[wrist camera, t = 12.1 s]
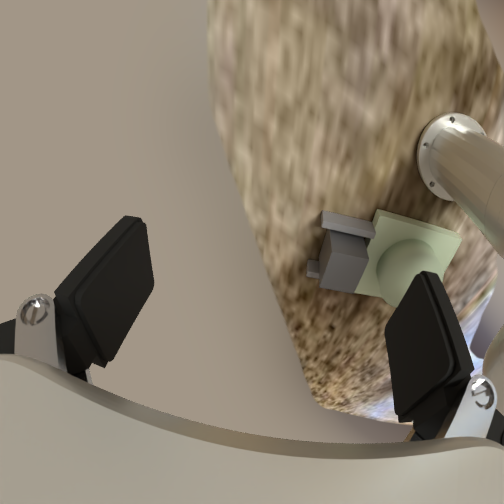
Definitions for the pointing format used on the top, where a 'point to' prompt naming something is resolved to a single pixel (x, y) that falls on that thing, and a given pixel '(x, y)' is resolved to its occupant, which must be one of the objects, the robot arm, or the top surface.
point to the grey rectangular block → (342, 261)
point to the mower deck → (399, 232)
